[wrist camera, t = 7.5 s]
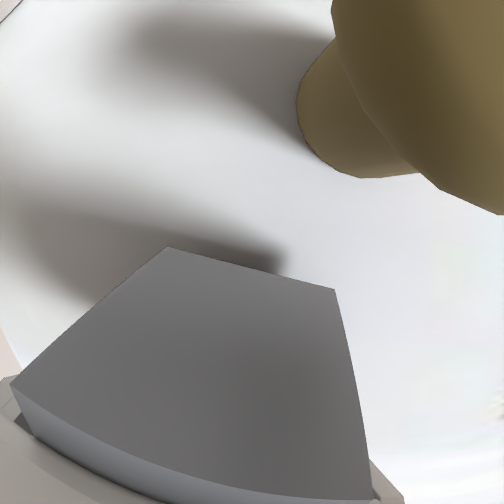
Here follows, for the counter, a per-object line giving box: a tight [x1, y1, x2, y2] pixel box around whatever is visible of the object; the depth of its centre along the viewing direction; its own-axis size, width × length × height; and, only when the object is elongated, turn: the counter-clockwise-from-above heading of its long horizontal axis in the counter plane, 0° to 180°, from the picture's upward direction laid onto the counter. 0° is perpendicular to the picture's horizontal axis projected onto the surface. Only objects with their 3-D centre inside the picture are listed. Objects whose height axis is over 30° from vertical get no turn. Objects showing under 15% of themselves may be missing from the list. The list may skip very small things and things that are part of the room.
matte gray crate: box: [9, 246, 374, 504], centre depth 9 cm, size 7×7×9 cm
